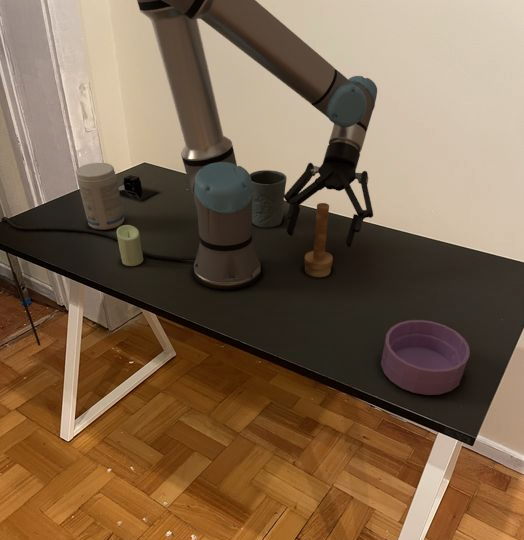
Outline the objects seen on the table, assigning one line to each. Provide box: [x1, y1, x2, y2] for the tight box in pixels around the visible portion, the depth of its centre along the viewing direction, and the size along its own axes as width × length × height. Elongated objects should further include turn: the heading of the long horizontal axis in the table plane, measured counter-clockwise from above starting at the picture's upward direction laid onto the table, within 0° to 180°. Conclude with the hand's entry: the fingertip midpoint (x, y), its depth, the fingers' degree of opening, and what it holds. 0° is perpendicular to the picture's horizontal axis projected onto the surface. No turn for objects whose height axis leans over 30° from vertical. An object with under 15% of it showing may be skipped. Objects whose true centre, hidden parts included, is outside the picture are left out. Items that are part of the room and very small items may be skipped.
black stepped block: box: [118, 174, 158, 202], centre depth 154 cm, size 12×7×5 cm, turn 60°
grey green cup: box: [249, 169, 287, 228], centre depth 137 cm, size 10×10×12 cm
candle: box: [116, 224, 144, 267], centre depth 121 cm, size 5×5×8 cm
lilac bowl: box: [380, 319, 471, 396], centre depth 92 cm, size 14×14×6 cm
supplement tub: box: [75, 162, 125, 231], centre depth 135 cm, size 10×10×15 cm
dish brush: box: [303, 202, 334, 278], centre depth 116 cm, size 6×6×16 cm
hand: (318, 239), depth 115 cm, fingers open, 13 cm apart
